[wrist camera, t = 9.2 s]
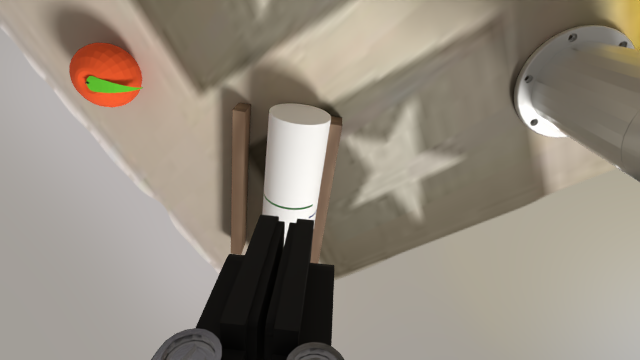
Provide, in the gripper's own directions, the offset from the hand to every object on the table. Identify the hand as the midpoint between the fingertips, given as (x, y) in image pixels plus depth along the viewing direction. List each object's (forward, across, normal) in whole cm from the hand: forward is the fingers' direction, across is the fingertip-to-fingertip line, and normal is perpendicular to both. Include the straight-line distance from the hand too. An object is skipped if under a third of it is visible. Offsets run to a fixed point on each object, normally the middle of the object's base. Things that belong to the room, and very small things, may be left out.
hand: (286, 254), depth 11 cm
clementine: (+33, +24, +3) cm, 41 cm away
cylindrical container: (+30, +3, +5) cm, 30 cm away
